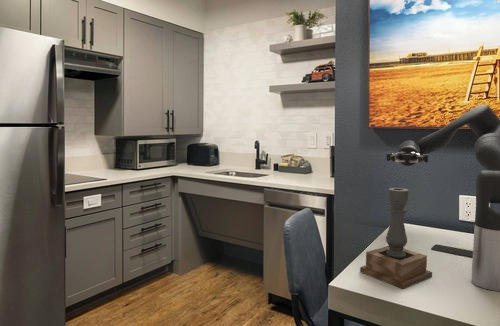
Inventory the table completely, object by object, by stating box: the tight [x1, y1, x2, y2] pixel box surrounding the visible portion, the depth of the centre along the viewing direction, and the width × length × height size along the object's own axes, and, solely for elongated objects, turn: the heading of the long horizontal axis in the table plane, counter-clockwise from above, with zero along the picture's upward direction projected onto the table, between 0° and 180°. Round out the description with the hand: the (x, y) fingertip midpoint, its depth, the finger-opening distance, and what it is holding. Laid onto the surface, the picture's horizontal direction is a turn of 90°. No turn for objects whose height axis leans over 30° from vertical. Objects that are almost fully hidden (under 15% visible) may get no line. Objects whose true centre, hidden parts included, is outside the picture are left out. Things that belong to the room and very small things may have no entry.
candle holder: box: [385, 187, 410, 260], centre depth 114 cm, size 6×6×25 cm
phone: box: [430, 243, 473, 259], centre depth 136 cm, size 7×1×15 cm
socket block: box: [359, 245, 433, 290], centre depth 115 cm, size 15×15×6 cm
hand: (406, 159), depth 133 cm, fingers open, 8 cm apart
